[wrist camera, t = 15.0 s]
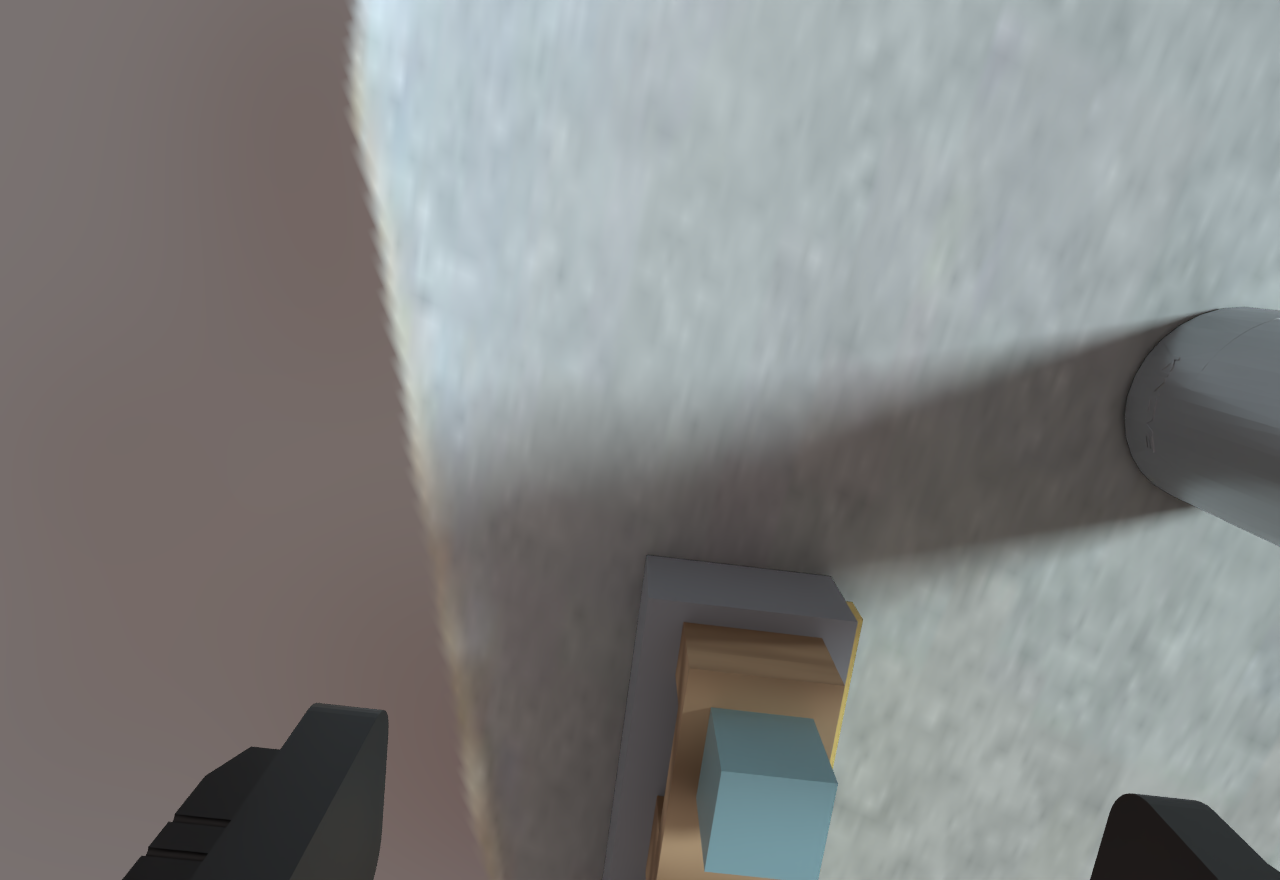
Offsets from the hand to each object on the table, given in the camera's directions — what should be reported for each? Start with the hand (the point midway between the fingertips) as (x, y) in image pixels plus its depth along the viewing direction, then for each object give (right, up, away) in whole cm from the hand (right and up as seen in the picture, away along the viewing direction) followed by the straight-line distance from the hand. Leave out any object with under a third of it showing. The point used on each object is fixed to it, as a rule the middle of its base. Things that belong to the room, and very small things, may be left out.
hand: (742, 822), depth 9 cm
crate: (+3, -8, +24) cm, 25 cm away
